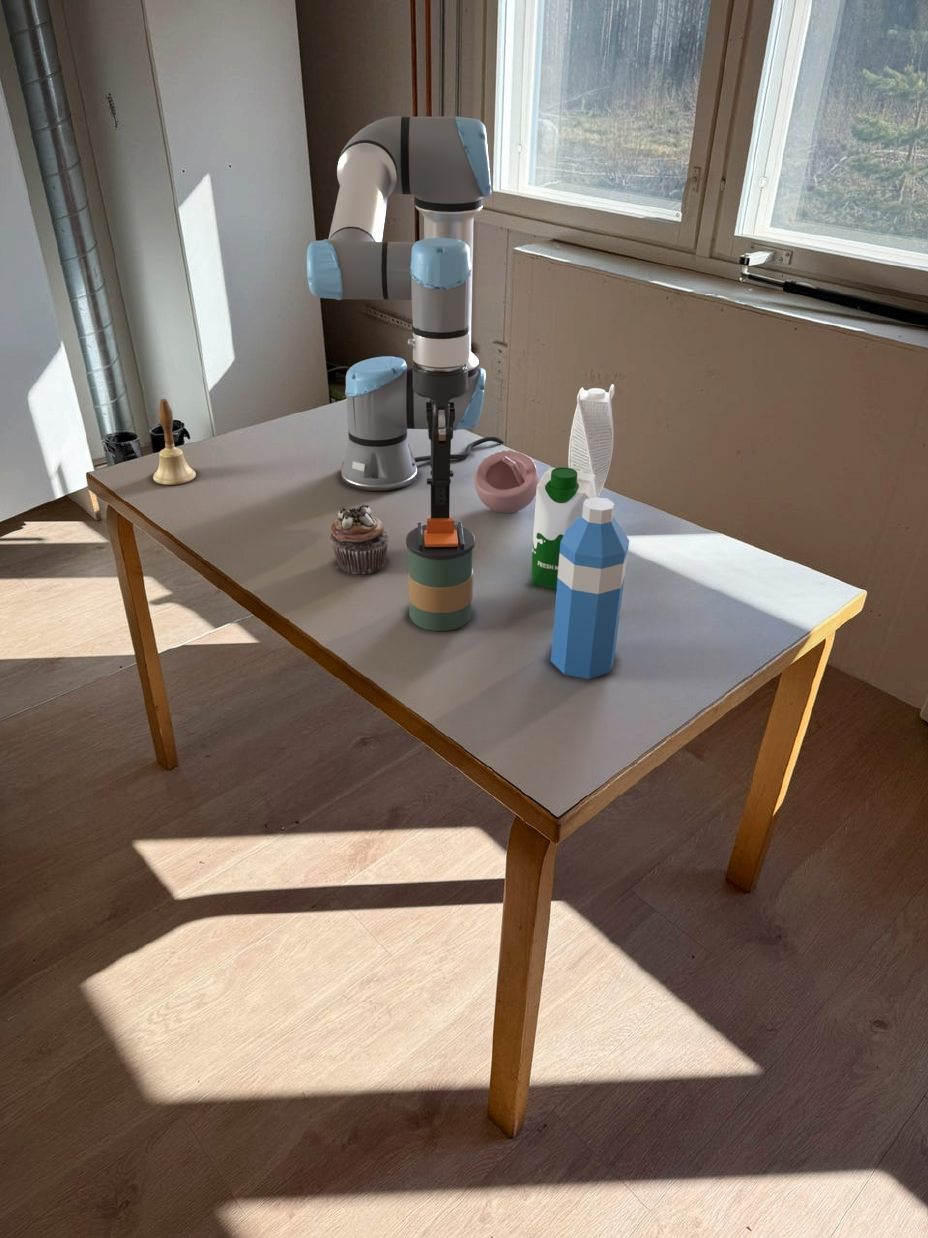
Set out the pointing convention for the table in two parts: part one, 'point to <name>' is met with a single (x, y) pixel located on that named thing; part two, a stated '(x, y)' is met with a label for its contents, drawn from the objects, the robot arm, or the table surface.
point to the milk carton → (556, 518)
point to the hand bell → (171, 453)
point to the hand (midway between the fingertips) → (440, 520)
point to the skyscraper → (592, 435)
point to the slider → (440, 533)
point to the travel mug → (440, 591)
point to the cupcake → (359, 541)
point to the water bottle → (589, 592)
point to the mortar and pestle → (506, 481)
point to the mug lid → (417, 547)
